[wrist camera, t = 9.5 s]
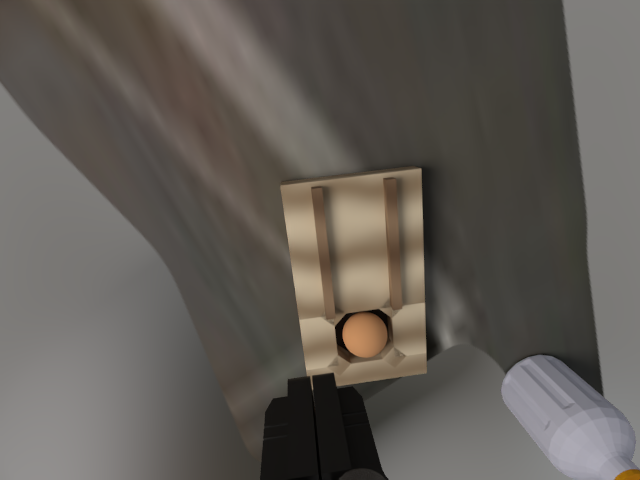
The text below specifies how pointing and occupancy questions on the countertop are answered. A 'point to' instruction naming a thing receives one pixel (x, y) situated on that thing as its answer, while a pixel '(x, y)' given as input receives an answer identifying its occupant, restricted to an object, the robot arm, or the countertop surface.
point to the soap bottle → (570, 420)
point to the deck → (359, 268)
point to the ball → (365, 334)
